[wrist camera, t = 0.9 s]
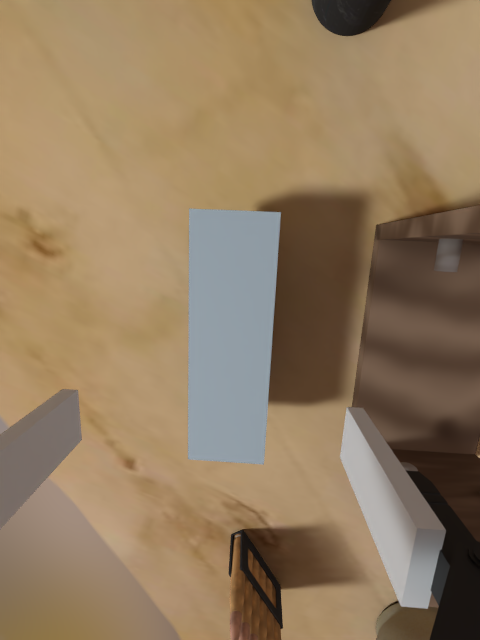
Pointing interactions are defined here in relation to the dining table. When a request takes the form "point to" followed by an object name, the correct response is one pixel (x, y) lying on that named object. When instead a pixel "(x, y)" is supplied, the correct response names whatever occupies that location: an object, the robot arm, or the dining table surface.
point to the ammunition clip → (252, 594)
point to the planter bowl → (405, 623)
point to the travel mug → (349, 14)
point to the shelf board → (230, 332)
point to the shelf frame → (427, 352)
